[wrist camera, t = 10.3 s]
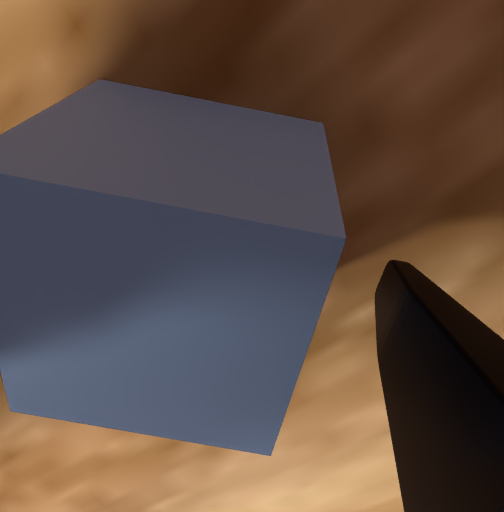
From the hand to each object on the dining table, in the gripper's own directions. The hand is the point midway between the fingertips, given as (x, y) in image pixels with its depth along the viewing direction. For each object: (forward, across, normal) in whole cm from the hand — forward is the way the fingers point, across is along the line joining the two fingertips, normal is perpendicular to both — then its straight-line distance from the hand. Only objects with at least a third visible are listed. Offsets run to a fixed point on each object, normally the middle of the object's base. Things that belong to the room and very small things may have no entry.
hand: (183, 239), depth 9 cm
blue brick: (+2, 0, 0) cm, 2 cm away
